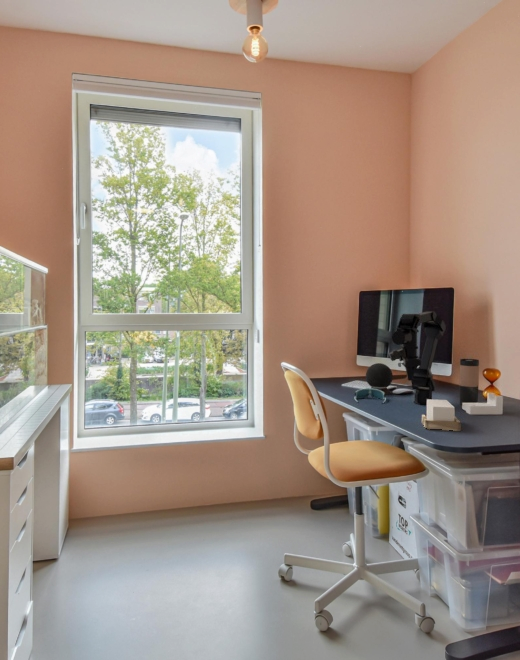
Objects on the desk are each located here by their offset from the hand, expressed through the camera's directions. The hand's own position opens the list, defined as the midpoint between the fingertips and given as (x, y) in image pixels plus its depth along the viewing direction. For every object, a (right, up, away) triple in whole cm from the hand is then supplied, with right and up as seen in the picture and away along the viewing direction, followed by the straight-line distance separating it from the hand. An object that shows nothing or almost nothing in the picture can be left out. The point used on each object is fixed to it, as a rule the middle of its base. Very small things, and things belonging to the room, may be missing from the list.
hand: (409, 380), depth 198 cm
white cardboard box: (+2, -13, -28) cm, 31 cm away
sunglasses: (-13, -12, +18) cm, 25 cm away
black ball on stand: (-3, -11, +38) cm, 39 cm away
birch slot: (+1, -13, -31) cm, 33 cm away
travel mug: (+28, -12, +8) cm, 32 cm away
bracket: (+27, -13, -7) cm, 31 cm away
